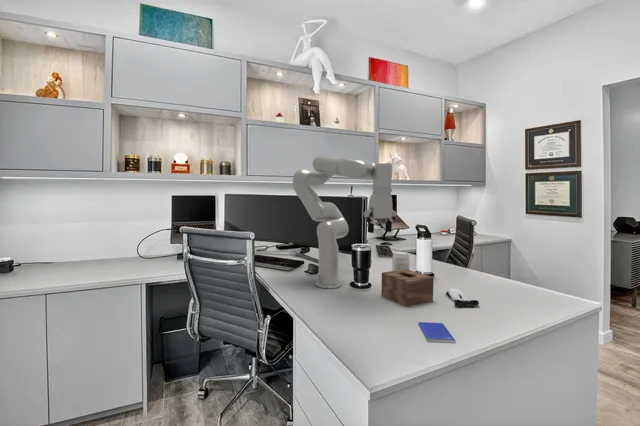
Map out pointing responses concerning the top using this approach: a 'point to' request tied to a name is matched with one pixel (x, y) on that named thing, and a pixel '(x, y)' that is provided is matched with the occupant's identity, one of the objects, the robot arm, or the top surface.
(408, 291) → the wooden tissue box
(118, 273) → the top surface
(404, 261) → the supplement can
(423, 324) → the hard drive
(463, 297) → the computer mouse
